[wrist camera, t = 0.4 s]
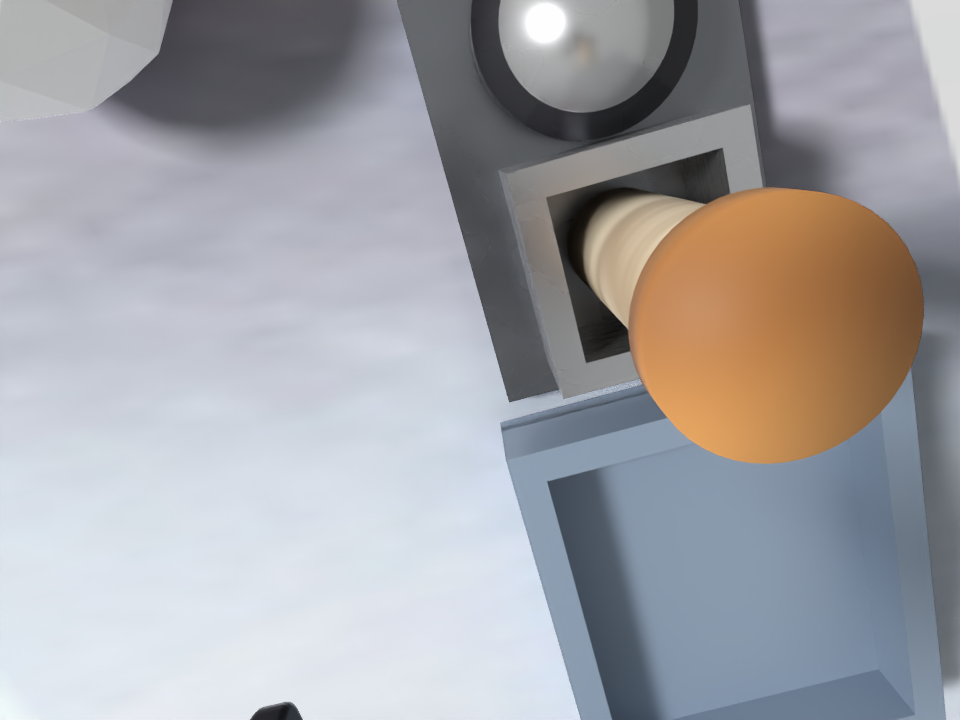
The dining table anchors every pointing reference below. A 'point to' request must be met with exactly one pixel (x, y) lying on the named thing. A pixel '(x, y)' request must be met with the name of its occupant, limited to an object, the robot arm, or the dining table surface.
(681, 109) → the grey piece
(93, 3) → the ball
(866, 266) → the orange-brown round-topped piece
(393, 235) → the dining table surface
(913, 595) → the tray
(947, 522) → the dining table surface
